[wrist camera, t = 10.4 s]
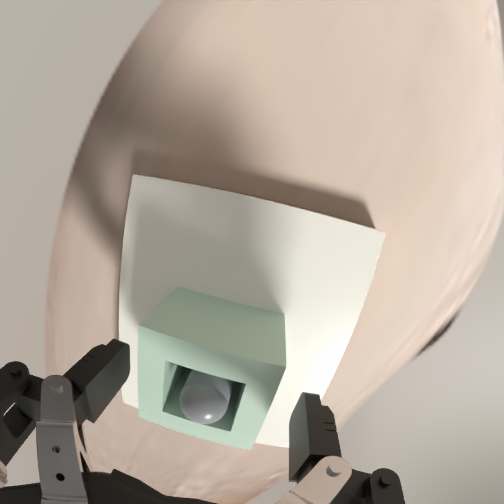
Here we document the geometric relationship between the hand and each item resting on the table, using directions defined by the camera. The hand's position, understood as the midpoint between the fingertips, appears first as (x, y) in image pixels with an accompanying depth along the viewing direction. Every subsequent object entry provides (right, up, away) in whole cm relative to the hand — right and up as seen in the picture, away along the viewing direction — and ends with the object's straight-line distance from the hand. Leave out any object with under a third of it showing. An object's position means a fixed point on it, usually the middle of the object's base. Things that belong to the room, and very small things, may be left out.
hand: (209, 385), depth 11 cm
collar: (0, +1, +3) cm, 3 cm away
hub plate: (0, +1, +5) cm, 5 cm away
